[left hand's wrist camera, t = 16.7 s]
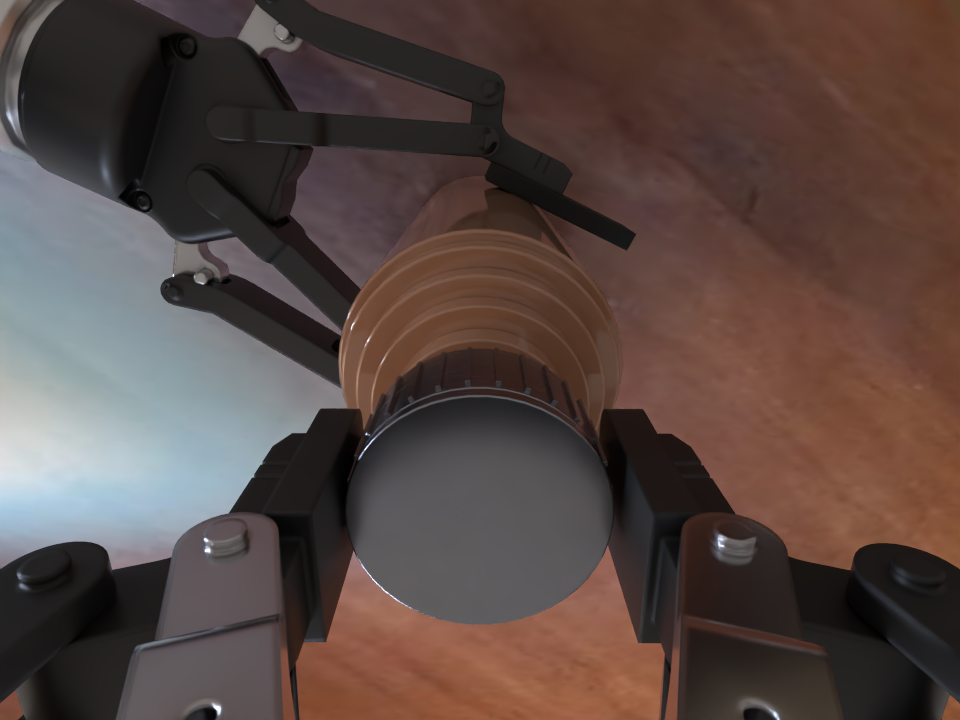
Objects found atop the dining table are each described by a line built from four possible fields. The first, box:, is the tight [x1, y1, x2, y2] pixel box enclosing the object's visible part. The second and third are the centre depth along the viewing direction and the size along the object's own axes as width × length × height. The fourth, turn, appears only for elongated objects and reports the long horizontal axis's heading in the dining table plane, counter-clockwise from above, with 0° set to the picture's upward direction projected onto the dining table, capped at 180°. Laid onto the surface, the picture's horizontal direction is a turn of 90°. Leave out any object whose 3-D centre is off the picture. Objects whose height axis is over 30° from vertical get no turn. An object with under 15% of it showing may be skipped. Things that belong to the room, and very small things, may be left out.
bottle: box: [338, 176, 623, 438], centre depth 22 cm, size 7×7×24 cm
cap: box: [345, 347, 615, 624], centre depth 11 cm, size 4×4×2 cm
